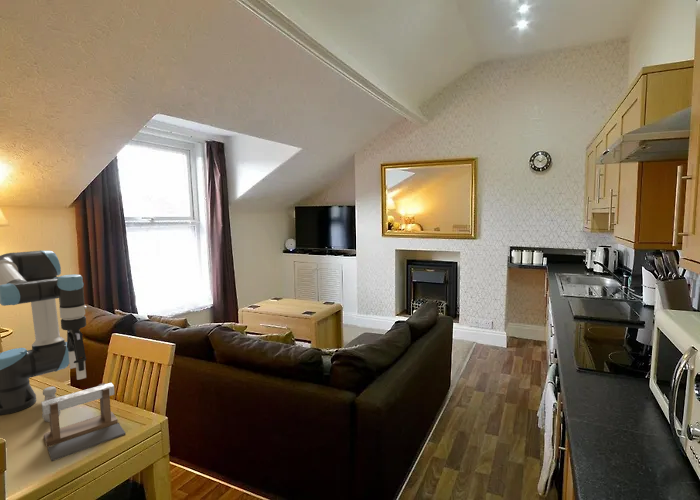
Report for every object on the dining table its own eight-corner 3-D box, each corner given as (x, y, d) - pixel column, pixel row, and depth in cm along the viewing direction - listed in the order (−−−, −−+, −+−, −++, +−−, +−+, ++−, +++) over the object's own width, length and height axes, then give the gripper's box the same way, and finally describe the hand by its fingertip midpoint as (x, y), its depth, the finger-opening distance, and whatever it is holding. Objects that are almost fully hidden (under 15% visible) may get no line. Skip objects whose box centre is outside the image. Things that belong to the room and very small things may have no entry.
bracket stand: (43, 437, 143) (40, 399, 141) (112, 415, 158) (109, 380, 156) (47, 447, 137) (43, 408, 135) (117, 422, 152) (115, 387, 150)
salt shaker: (50, 424, 151) (48, 392, 150) (38, 422, 152) (35, 390, 151) (64, 416, 157) (62, 385, 155) (52, 414, 158) (50, 384, 156)
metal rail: (42, 411, 140) (41, 401, 139) (111, 390, 155) (111, 382, 155) (43, 415, 137) (42, 405, 137) (114, 394, 152) (114, 385, 152)
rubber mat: (47, 448, 136) (47, 447, 136) (118, 424, 151) (118, 423, 151) (51, 461, 129) (51, 459, 129) (125, 434, 145) (125, 432, 145)
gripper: (93, 322, 136) (97, 380, 138) (78, 309, 154) (82, 360, 156) (67, 326, 131) (72, 387, 133) (55, 312, 149) (59, 366, 151)
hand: (77, 373), depth 145 cm, fingers open, 13 cm apart
